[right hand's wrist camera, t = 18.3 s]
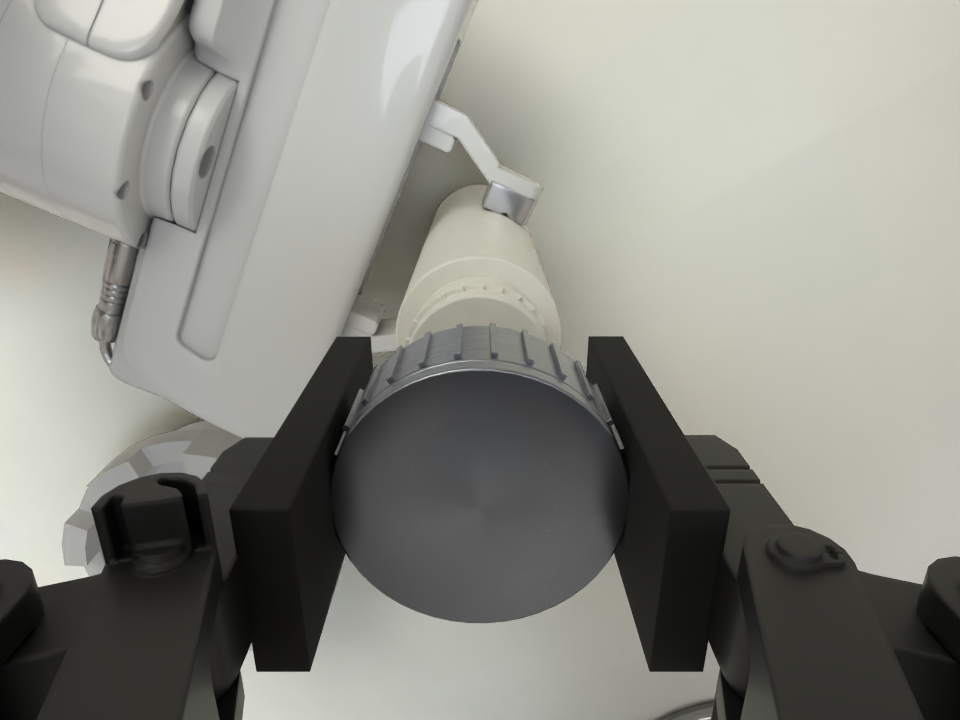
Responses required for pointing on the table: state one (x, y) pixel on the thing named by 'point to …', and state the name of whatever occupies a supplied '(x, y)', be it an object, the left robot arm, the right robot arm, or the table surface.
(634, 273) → the table surface
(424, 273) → the jar
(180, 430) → the flag stand
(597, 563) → the lid
